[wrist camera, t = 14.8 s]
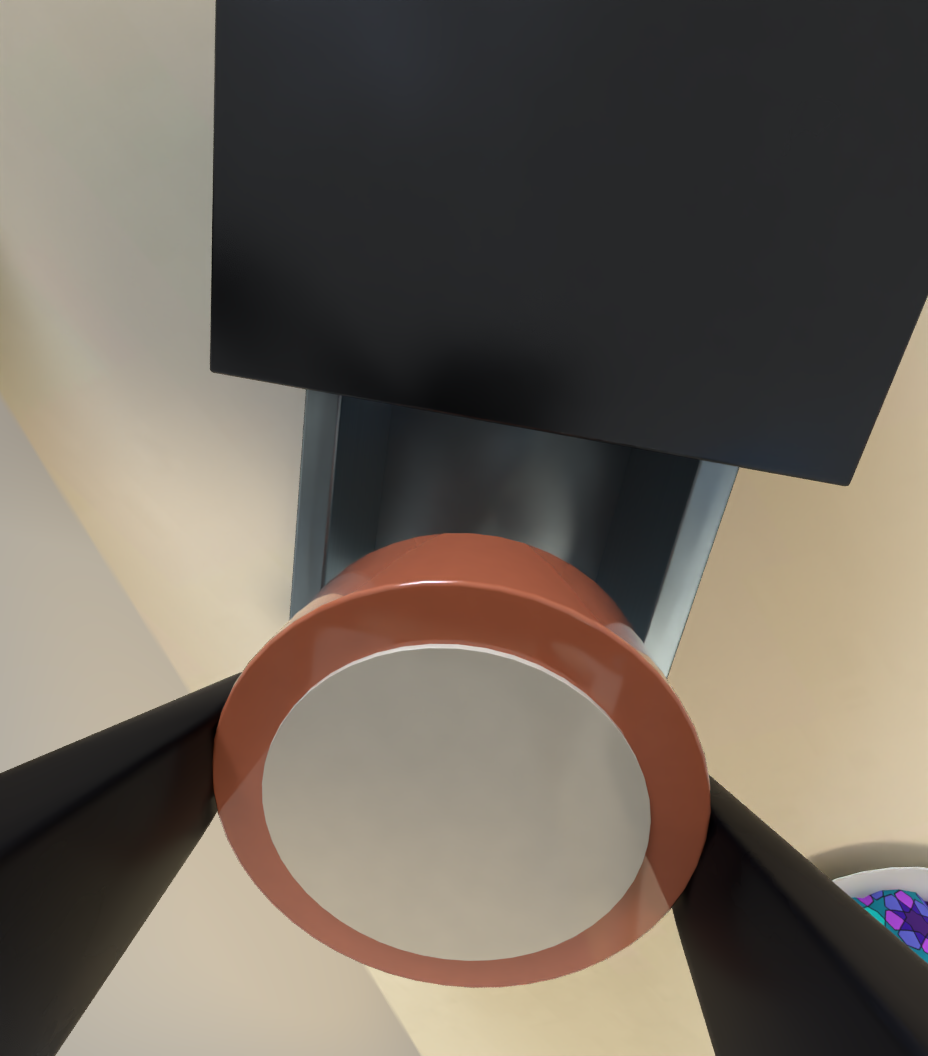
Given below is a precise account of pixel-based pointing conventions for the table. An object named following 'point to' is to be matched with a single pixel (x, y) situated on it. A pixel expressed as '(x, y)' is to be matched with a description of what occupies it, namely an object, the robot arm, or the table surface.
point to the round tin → (463, 767)
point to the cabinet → (579, 214)
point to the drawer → (507, 503)
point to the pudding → (894, 901)
